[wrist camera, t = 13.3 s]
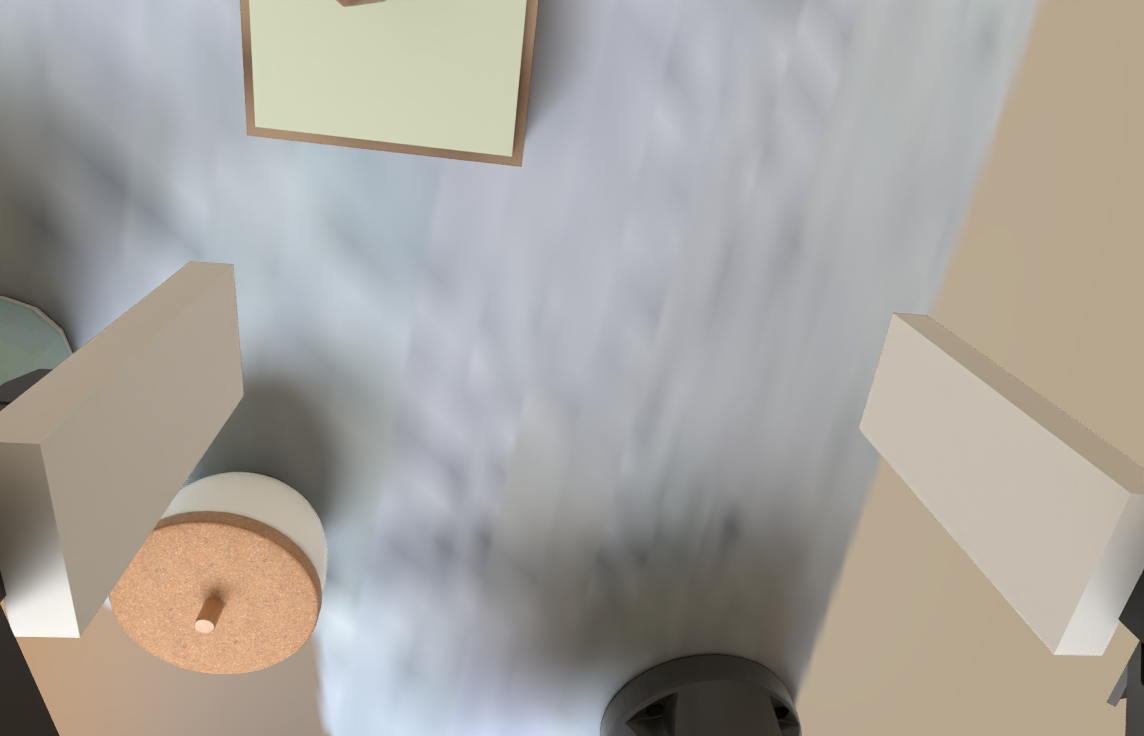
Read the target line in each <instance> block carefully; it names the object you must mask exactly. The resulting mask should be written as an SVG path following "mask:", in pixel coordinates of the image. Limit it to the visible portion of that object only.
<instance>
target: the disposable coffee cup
mask: <svg viewBox="0 0 1144 736" xmlns="http://www.w3.org/2000/svg"><path fill="white" fill-rule="evenodd" d="M72 354H73V353H72V350H71V348H70V346H69V343H68V341H67V338H66V336H65V334H64V331H63V329H61V328H60V327H59V326H58V325H57V324H56V323H55V322H53V321H52V320H51V319H50V318H49V317H48V316H46V315H45V314H44V313H43V312H42V311H41V310H40V309H38V308H37V307H34V306H32V305H29V304H26V303H23V302H20V301H17V300H14V299H11V298H8V297H5V296H0V386H1V385H2V384H3V383H5V382H7V381H10V380H12V379H15V378H17V377H20V376H22V375H25V374H27V373H30V372H32V371H35V370H37V369H55V368H56V367H57V366H58V365H60V364H61V363H62V362H63V361H65V360H66V359H67V358H68V357H70V356H71V355H72Z"/></svg>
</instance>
